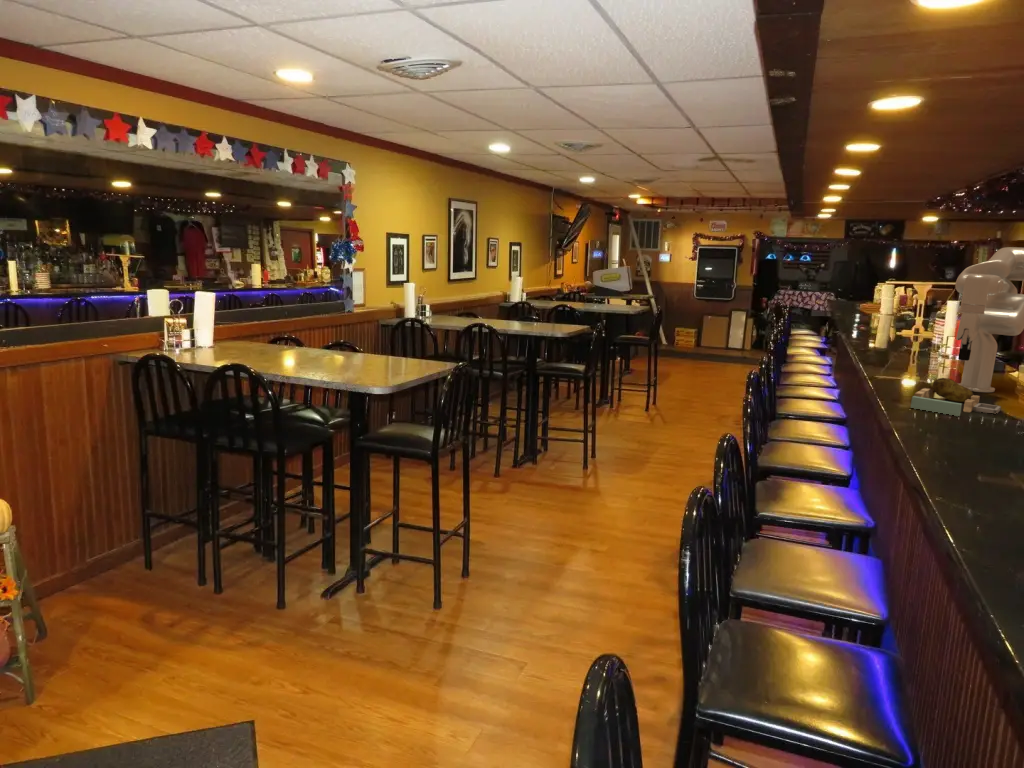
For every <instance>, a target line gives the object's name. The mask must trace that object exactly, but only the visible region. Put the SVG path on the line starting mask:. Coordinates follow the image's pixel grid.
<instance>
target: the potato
mask: <svg viewBox="0 0 1024 768" xmlns="http://www.w3.org/2000/svg"><path fill="white" fill-rule="evenodd" d="M932 389H933V390H932V391H933V393H934V394H936V395H937V396H939V397H942V398H944V399H946V400H947V401H949V402H955V403H965V401H966V400H967V399H970V400H971V396H973V395H974V393H973V392H974V391H971V390H969V389H968V388H966V387H963V386H961V385H959V384H958V382H956V381H954V380H953V379H951V378H946V377H940V378H937V379H935V380H934V381H933V383H932Z"/></svg>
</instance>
